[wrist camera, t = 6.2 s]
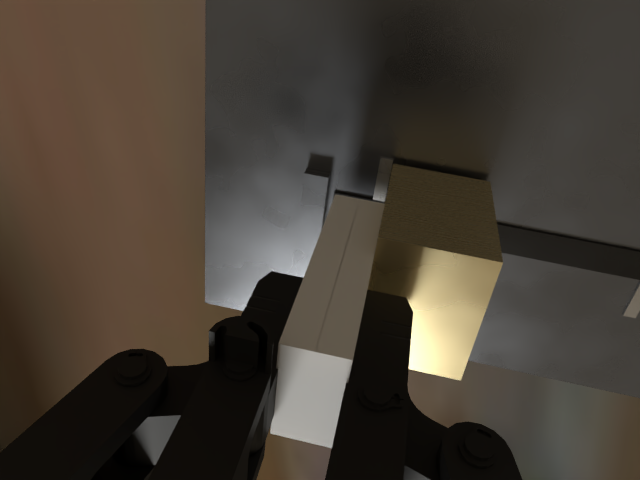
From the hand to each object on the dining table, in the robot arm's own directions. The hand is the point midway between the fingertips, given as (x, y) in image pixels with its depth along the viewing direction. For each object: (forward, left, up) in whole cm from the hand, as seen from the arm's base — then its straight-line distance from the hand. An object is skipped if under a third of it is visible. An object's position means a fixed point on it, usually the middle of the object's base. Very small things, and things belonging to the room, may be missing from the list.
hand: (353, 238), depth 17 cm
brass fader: (+2, 0, -2) cm, 3 cm away
